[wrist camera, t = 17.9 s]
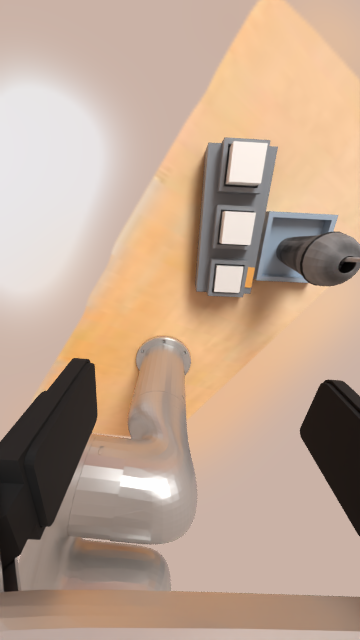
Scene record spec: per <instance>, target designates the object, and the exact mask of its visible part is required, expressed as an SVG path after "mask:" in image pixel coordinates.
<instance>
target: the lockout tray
mask: <svg viewBox="0 0 360 640" xmlns="http://www.w3.org/2000/svg"><path fill="white" fill-rule="evenodd" d="M337 218H338V215H327V214H308V213H290V212H271V211H269V212H265V218H264V223H263V228H262V234H261V239H260V244H259V250H258V255H257V260H256V266H255V271H254V276H253V278H254V279H255V280H259V281H281V282H303V283H308V282H307V281H306V280H305V279H304V278H303V276H302V275H301V274H299V273H298V272H296V271H295V270H293V269H291V268H290V267H288V266H287V265H285V264H283V263H282V262H281V261H280V260H279V259H278V258H277V255H276V250H277V247H278V245H279V244H280V242H281V241H283V240H284V239H286V238H291V237H299V236H315V235H321V234H324V233H328V232H333V230H334V227H335V224H336V221H337Z"/></svg>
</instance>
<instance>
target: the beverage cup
mask: <svg viewBox="0 0 360 640" xmlns="http://www.w3.org/2000/svg"><path fill="white" fill-rule="evenodd" d="M276 255H277V258H278V259H279V260H280V261H281V262H282V263H283V264H285V265H287V266H288V267H290V268H291V269H293V270H295V271H296V272H298V273H299V274H301V275H302V276H303V278H304V279H305V280H306V281H307V282H308V283H311V284H313V285H319V286H334V285H338V284H341V283H343V282H345V281H347V280H348V279H350V278H351V277H352V276H354V275H355V274H356V272H357V271H358V270H359V268H360V244H359V243H358V242H357V241H356V240H355V239H354V238H352V237H350V236H348V235H346V234H343V233H341V232H328V233H324V234H321V235H315V236H299V237H291V238H286V239H284V240H283V241H281V242H280V244H279V245H278V247H277V250H276Z"/></svg>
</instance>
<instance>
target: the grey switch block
mask: <svg viewBox="0 0 360 640" xmlns="http://www.w3.org/2000/svg"><path fill="white" fill-rule="evenodd" d="M269 145H270V140H257V139H241V138H224V140H223V142H222V143H208V146H207V148H206V151H205V164H204V177H203V190H202V202H201V215H200V228H199V241H198V254H197V267H196V280H195V287H196V291H200V292H207V294H208V296H228V297H243V294H244V293H245V294H250V292H251V287H252V282H253V276H254V271H255V266H256V260H257V255H258V250H259V244H260V239H261V234H262V228H263V223H264V218H265V212H266V207H267V202H268V196H269V191H270V186H271V181H272V175H273V170H274V165H275V159H276V154H277V149H278V147H272V146H269ZM215 264H236V265H241V266H243V267H244V268H243V274H242V280H241V286H240V292H239V293H231V292H214V291H213V289H212V286H213V277H214V268H215Z"/></svg>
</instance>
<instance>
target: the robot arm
mask: <svg viewBox="0 0 360 640" xmlns="http://www.w3.org/2000/svg"><path fill="white" fill-rule="evenodd" d="M136 364H137V368H138V369H139V375H138V379H137V383H136V387H135V390H134V394H133V398H132V402H131V405H130V409H129V414H128V428H129V432H130V435H131V439H127V438H120V437H112V436H105V435H97V434H91V433H92V430H93V428H94V426H95V423H96V420H97V399H96V381H95V366H94V364H93V363H90V360H89V359H79V358H73V359H72V360H71V361H70V363H69V364H68V365H67V366H66V368H65V369H64V370H63V371H62V373H61V374H60V375H59V376H58V378H57V379H56V380H55V381H54V383H53V384H52V385H51V386H50V388H49V389H48V390H47V391H44V392H42V393H41V394H40V395H39V396H38V397H37V398H36V399H35V400H34V402H33V403H32V404H31V405H30V407H29V408H28V409H27V410H26V412H25V413H24V414H23V415H22V416H21V418H20V419H19V420H18V421H17V422H16V424H15V425H14V426H13V427H12V428H11V430H10V431H9V432H8V433H7V434H6V436H5V437H4V438H3V439H2V440H1V442H0V640H360V597H343V596H314V595H285V594H253V593H222V592H183V591H171V583H170V573H169V569H168V565H167V563H166V560H165V559H164V557H163V556H162V555H161V554H159V553H158V552H157V551H155V550H153V549H151V548H147V547H143V546H137V545H130V544H121V543H110V542H101V541H91V540H84V539H82V538H93V539H104V540H110V541H116V542H127V543H138V544H163V543H169V542H172V541H175V540H177V539H178V538H180V537H181V536H183V535H184V534H185V533H186V532H187V530H188V529H189V528H190V526H191V524H192V522H193V519H194V516H195V512H196V506H197V485H196V477H195V472H194V467H193V463H192V459H191V454H190V449H189V444H188V436H187V424H186V401H185V375H186V373H187V372H188V370H189V368H190V364H191V358H190V353H189V351H188V349H187V347H186V346H185V345H184V344H183V343H182V342H180V341H179V340H177V339H175V338H171V337H166V336H160V337H154V338H151V339H149V340H147V341H146V342H145V343H143V344H142V346H141V347H140V348H139V350H138V353H137V356H136ZM300 435H301V438H302V440H303V441H304V443H305V445H306V446H307V448H308V450H309V451H310V453H311V455H312V457H313V458H314V460H315V462H316V464H317V465H318V467H319V469H320V470H321V472H322V474H323V475H324V477H325V479H326V481H327V482H328V484H329V486H330V487H331V489H332V491H333V493H334V494H335V496H336V497H337V499H338V501H339V503H340V504H341V506H342V508H343V509H344V511H345V513H346V515H347V516H348V518H349V520H350V521H351V523H352V525H353V526H354V528H355V530H356V532H357V533H358V535H359V536H360V396H359V395H358V394H357V393H356V392H355V391H354V390H352V389H351V388H350V387H349V386H348V385H347V384H346V383H345V382H343V381H338V380H325V381H324V382H323V383H322V384H320V386H319V388H318V391H317V393H316V395H315V397H314V400H313V401H312V404H311V406H310V408H309V410H308V412H307V415H306V417H305V419H304V421H303V423H302V426H301V428H300ZM81 537H82V538H81ZM20 554H21V556H20V560H19V563H18V560H17V556H19V555H20Z"/></svg>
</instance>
